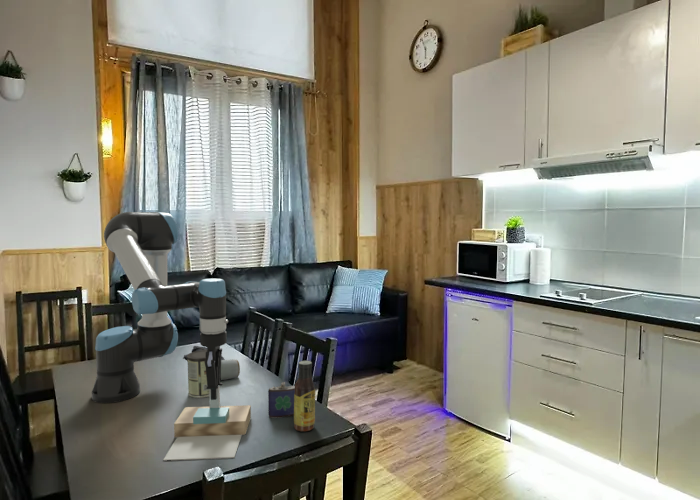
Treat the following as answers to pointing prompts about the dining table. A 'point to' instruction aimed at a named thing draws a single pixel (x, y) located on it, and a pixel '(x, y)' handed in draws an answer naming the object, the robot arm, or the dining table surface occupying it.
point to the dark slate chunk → (198, 348)
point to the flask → (281, 401)
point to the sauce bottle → (304, 398)
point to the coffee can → (197, 374)
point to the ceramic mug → (229, 369)
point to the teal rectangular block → (211, 415)
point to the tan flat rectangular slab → (233, 425)
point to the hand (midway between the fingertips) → (214, 408)
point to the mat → (203, 447)
